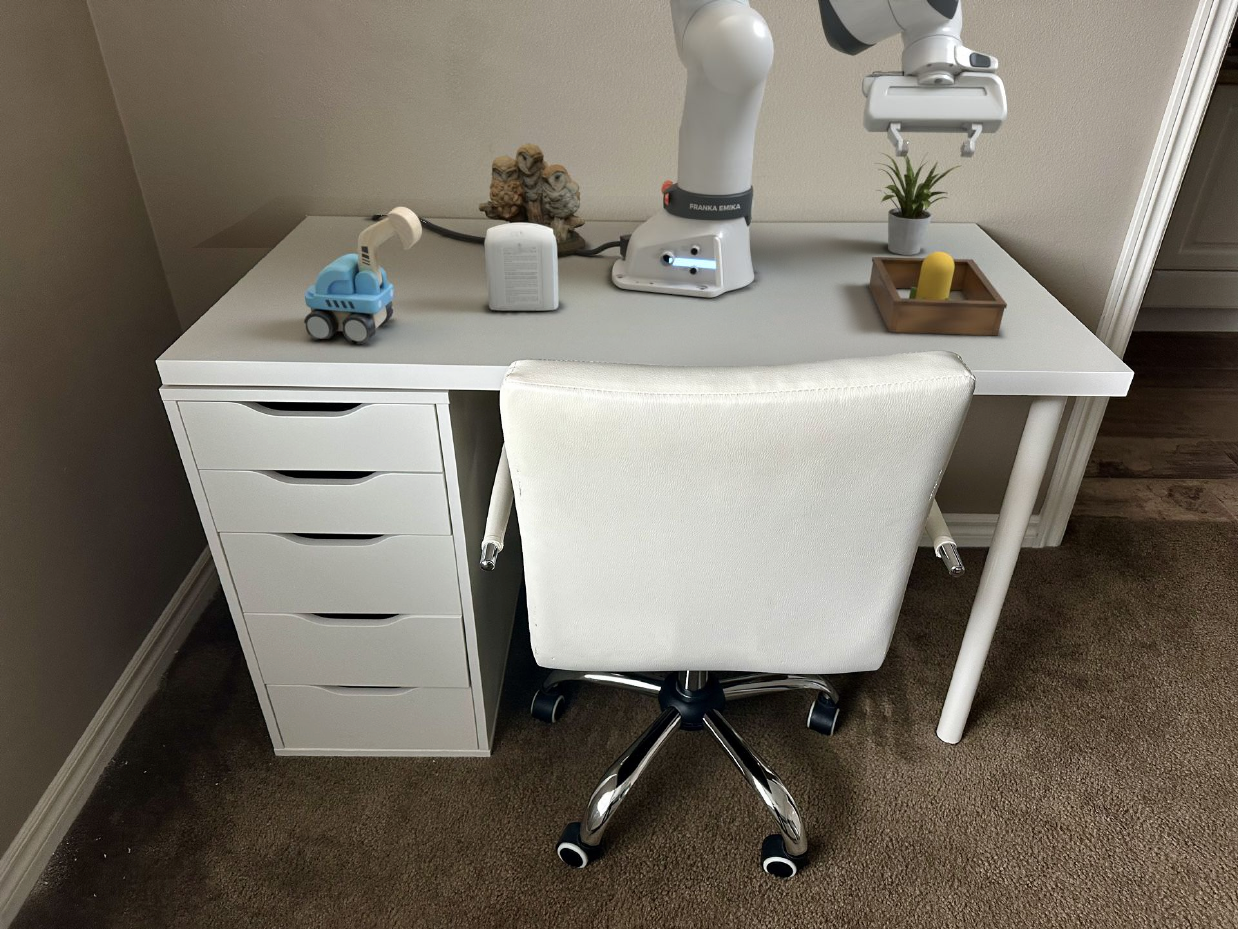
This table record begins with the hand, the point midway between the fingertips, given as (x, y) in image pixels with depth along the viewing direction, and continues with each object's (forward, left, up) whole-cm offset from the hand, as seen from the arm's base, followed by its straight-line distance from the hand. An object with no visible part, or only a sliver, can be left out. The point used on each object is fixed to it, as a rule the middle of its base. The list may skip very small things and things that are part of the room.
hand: (934, 155), depth 128 cm
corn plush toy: (0, -13, -19) cm, 23 cm away
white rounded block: (-59, -17, -19) cm, 64 cm away
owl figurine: (-62, +10, -19) cm, 66 cm away
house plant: (0, +14, -19) cm, 23 cm away
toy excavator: (-78, -28, -19) cm, 85 cm away
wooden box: (0, -13, -19) cm, 23 cm away
